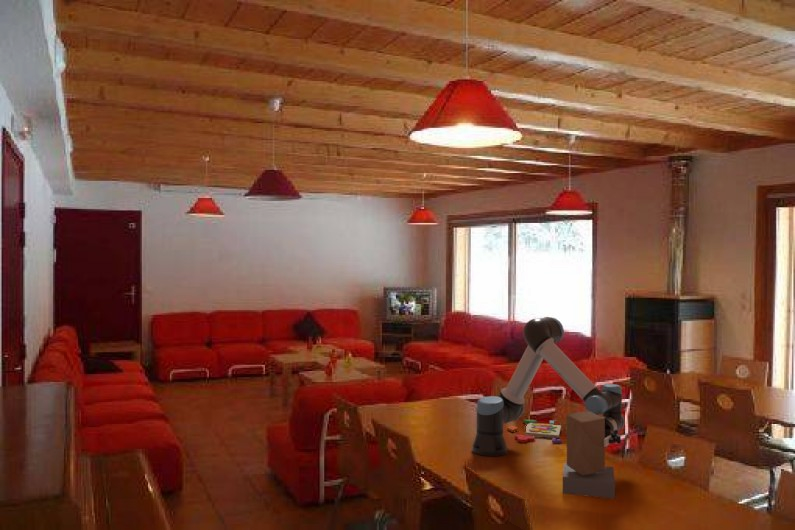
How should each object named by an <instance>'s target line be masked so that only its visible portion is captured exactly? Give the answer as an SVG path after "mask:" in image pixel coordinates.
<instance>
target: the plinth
mask: <svg viewBox="0 0 795 530" xmlns="http://www.w3.org/2000/svg"><path fill="white" fill-rule="evenodd" d="M614 470H615V469H614V467H613V466H609V465H608V466H607V465H605V471H602V472H597V473H592V474H587V475H581V474H579V473H578V472H576V471H575V470H573V469H572V468H570V467H569V466H567V461H566V462H565V461H564V464H563V471H562V472H563V473H562V494H565V495H575V496H582V495H587V496H586V497H591V496H597V497H596V498H600V497H605V498H604V499H609V498H615V499H616V495H615V494H616V479H615V471H614Z"/></svg>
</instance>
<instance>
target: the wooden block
mask: <svg viewBox="0 0 795 530" xmlns="http://www.w3.org/2000/svg"><path fill="white" fill-rule="evenodd" d="M565 420H566V422H565V423H566V428H567V433H566V462H567V466H569V467H570V468H572V469H573V470H575V471H576V472H578V473H579V474H581V475H587V474H592V473H597V472H602V471H605V466H606V457H605V456H606V452H605V451H606V447H604V439H605V419H604V418H603V416H600V415H596V414H594V413H592V412H590V411H587V410H586V411H585V410H583V411H578V412H573V413H567V414H566V419H565Z"/></svg>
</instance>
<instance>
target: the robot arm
mask: <svg viewBox="0 0 795 530" xmlns="http://www.w3.org/2000/svg"><path fill="white" fill-rule="evenodd" d="M564 332H565V330H564V326H563V324H562V323H561V321H560V320H558V319H557V318H556V317H551V316H550V317H549V316H544V317H540V318H538V317H537V318H533V319H530V320H528V321H527V322H526V323H525V325H524V327H523V333H522V335H523V339H524V340H525V342H526V344H527V347H526V348H525V350H524V351H523V354H522V357H521V358H520V360H519V362H518V364H517V366H516V368H515V370H514V372H513V374H512V376H511V378H510V380H509V381H508V384H507V386H506V387H503V388H501V390H500V392H499V394H498V396H495V395H489V396H484V397H481V398H479V399H478V400H477V402H476V409H475V410H476V434H475V437H474V439H473V443H472V447H471V448H472V450H471V451H472V452H473V453H474V454H476V455H479V456H484V457H500V456H501V457H502V456H504V455H506V454H507V453H508V446H507V444H506V440H505V437H504V425H505V424H509V423H511V422H515V421H517V420H518V419H519V418H521V417H522V416H523V415H524V414H523V413H524V411H525V410H524V409H525V406H524V404H525V402H526V400H525V395H526V392H527V391H528V389H529V388H530V385H531V383H532V381H533V379H534V378H535V376H536V374H537V372H538V370H539V368H540V366H541V364H542V362H543V360H545V362H546V363H547V364H548V365H549V366H550V367H551V369H553V370H554V372H556V373H557V374H558V375H559V377H560V378H561V379H562V380H563V381H565V382H566V384H567V385H568V386H569V388H571V389H572V391H574V392H575V394H577V395H578V397H579V398H580V399H581V400H582V401H583V402H584V406H585V409H586V411H590V412H592V413H594V414H596V415H598V416H600V415H602V418H604V419H605V439H604V447H605V448H606V447H608V446H609V445H610V444H615V443H617V444H621V442H622V441H621V440H622V439H621V438H622V437H621V435H620V434H619V432H620V431H622V429H623V428H624V426H625V424H626V423H625V422H626V421H625V418H624V416H623V411H622V410H623V408H622V407H623V406H622V405H623V404H622V403H623V402H622V401H623V392H622V386H621V385H619V384H615V383H606V384H603V385H602V388H601V389H602V390H600V389H599V388H598V387H597V386H596V385H595V384H594V383H593V382H592V380H590V379H589V378H588V377H587V376H586V374H585V373H584V372H583V371H582V370H581V369H580V368H578V366H577V365H576V364H575V363H574V362H573V361H572V359H570V358H569V357H568V355H566V354H565V353H564V352H563V351H562V349H560V347H559V346H557V344H558V343H559V342H560V341H561V340H562V339H563V337H564V335H565V333H564Z"/></svg>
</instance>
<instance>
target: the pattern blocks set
mask: <svg viewBox="0 0 795 530" xmlns="http://www.w3.org/2000/svg"><path fill="white" fill-rule="evenodd" d="M554 421H555V420H549V423H540V422H538V420H536V419H522V424H523V423H527V424H526V425H527V426H526V425H525V426H526V434H525V435H524V434H519V433H518V434H515V436H514V440H516V439H517V440H516V442H517V441H518V442H517V443H519V442H521V443H520V444H527V443H528V442H527V441H533V442H534V441H535V440H536V439H535V438H538V437H551V438H550V439H552V440H551V441H552V442H551V444H552V443H556V444H563V439H560V433H561V430H562V429H561V428H562V425H561V424H560V425H554ZM506 429H507V430H509V431H511V432H514V431H517V430H518V431H519V428H518V427H517V426H515V425H514V424H513V425H509V426H507V427H506ZM507 430H506V431H507ZM509 431H508V432H509ZM518 431H517V432H518ZM511 432H510V433H511ZM514 433H515V432H514ZM565 433H566V434H567V427H565ZM533 436H534V437H533ZM556 438H559V439H556ZM526 442H527V443H526Z"/></svg>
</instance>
